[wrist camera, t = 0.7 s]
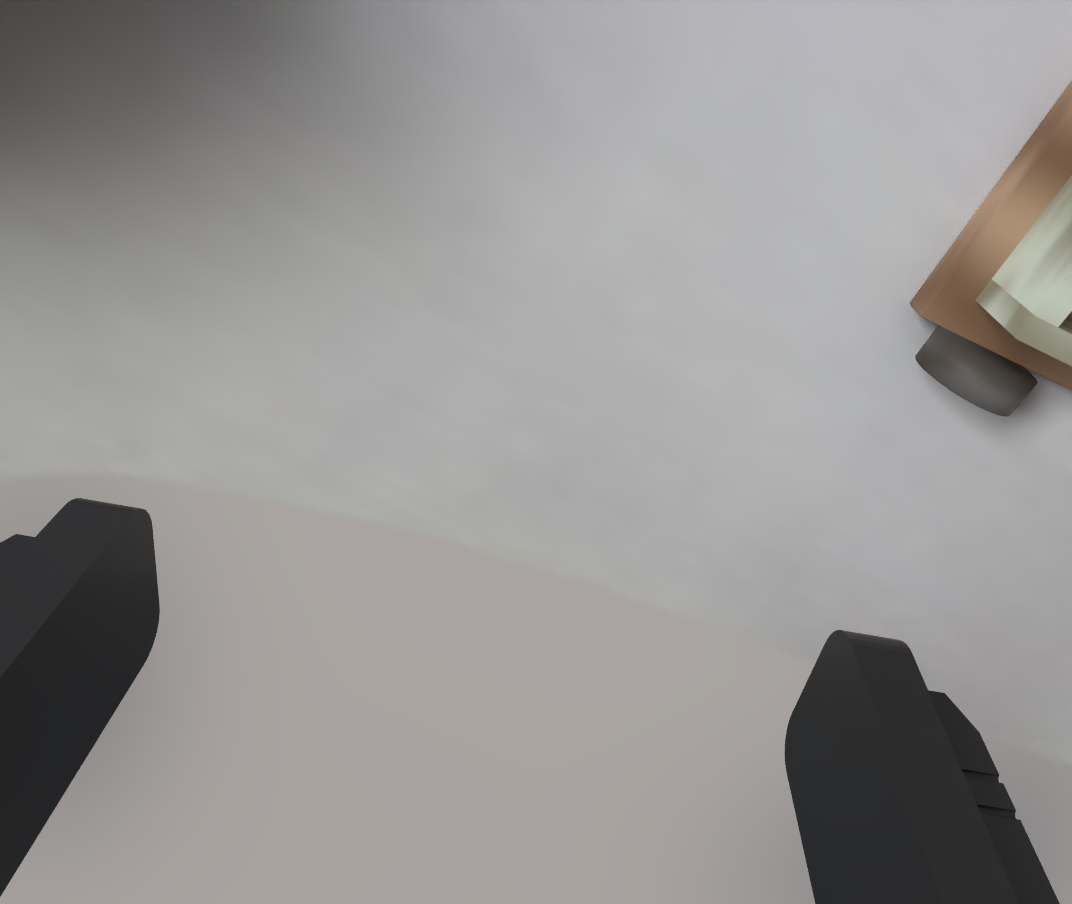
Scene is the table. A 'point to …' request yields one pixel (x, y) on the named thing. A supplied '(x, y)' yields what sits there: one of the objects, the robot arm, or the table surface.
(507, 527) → the table surface
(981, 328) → the chassis
